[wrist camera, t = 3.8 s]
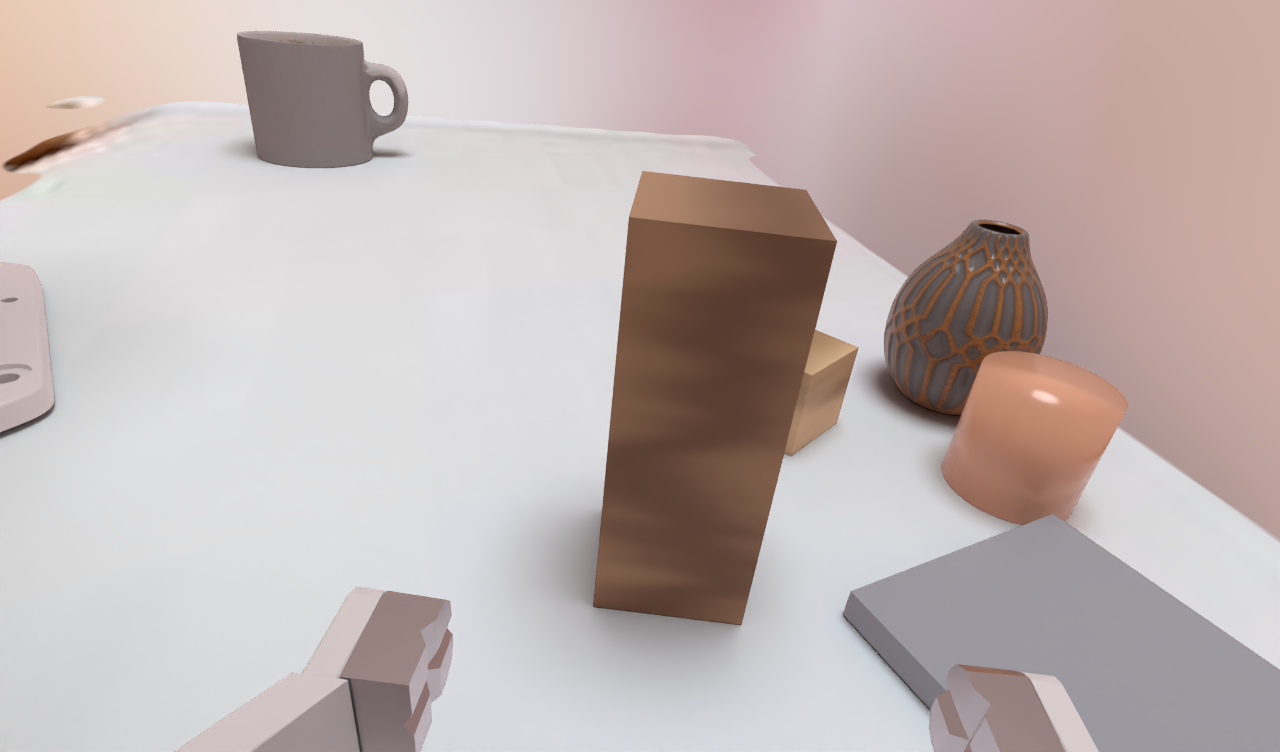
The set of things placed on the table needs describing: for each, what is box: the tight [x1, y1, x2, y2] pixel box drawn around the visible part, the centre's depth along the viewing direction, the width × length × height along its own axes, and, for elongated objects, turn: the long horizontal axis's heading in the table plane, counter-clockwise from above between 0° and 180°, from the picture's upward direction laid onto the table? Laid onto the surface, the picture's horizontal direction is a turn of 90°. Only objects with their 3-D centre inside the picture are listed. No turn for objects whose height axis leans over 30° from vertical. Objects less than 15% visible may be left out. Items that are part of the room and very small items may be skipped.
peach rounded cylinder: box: [942, 351, 1128, 525], centre depth 27 cm, size 5×5×5 cm
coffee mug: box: [237, 31, 408, 168], centre depth 62 cm, size 13×10×10 cm
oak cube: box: [784, 330, 858, 456], centre depth 30 cm, size 4×4×4 cm
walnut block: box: [593, 171, 837, 625], centre depth 19 cm, size 4×4×12 cm
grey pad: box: [843, 514, 1280, 752], centre depth 19 cm, size 10×10×1 cm
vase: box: [884, 220, 1048, 415], centre depth 32 cm, size 7×7×9 cm
